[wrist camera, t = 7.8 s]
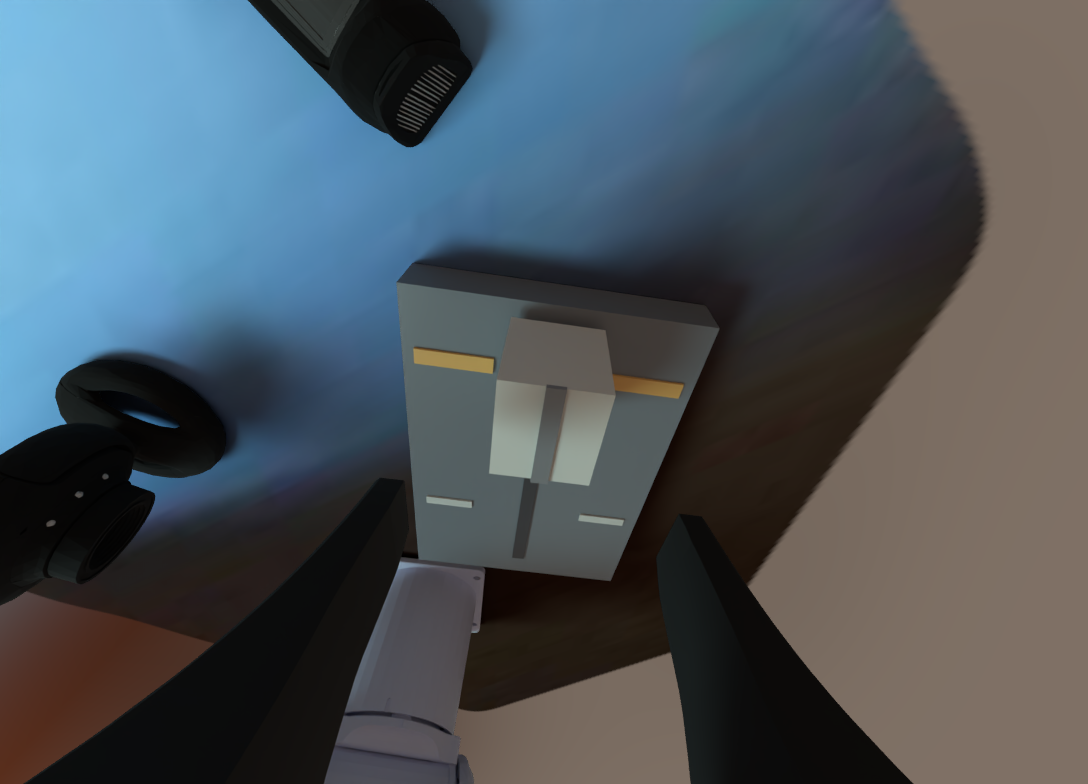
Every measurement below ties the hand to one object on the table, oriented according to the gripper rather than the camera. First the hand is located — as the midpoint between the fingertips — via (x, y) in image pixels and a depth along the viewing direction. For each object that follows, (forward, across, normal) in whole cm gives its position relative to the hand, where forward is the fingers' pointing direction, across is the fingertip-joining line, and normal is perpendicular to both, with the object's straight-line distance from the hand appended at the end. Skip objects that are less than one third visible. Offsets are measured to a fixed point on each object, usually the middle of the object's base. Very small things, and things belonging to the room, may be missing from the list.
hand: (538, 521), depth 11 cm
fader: (+7, 0, 0) cm, 7 cm away
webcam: (+10, +20, +8) cm, 24 cm away
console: (+9, 0, +6) cm, 11 cm away
